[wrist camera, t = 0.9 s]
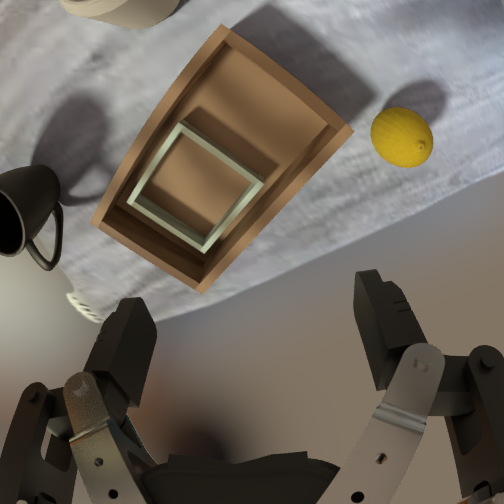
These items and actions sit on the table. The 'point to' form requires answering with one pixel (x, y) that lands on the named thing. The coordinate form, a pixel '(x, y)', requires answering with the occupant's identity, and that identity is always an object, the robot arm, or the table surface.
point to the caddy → (217, 161)
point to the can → (123, 11)
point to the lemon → (401, 137)
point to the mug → (29, 211)
